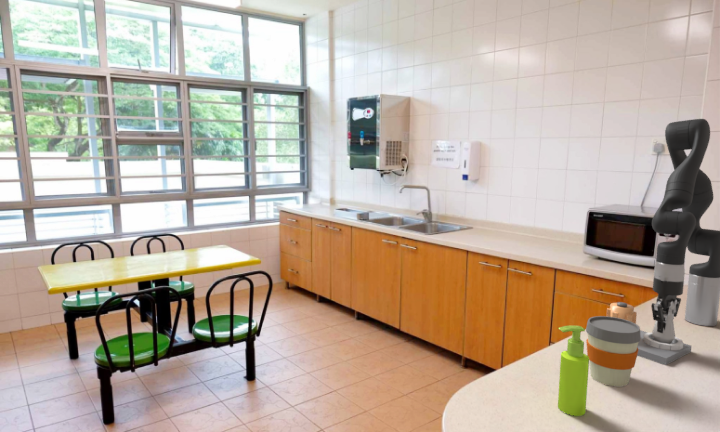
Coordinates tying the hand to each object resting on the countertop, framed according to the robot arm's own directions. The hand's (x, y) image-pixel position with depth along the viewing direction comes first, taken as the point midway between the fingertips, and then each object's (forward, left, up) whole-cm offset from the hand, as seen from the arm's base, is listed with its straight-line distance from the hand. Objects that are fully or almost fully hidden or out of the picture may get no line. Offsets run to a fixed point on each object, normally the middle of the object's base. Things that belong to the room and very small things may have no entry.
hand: (663, 332), depth 138 cm
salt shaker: (0, 0, -3) cm, 3 cm away
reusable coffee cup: (+32, +1, -6) cm, 32 cm away
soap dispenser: (+54, +4, -6) cm, 55 cm away
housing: (+3, -5, -6) cm, 8 cm away
